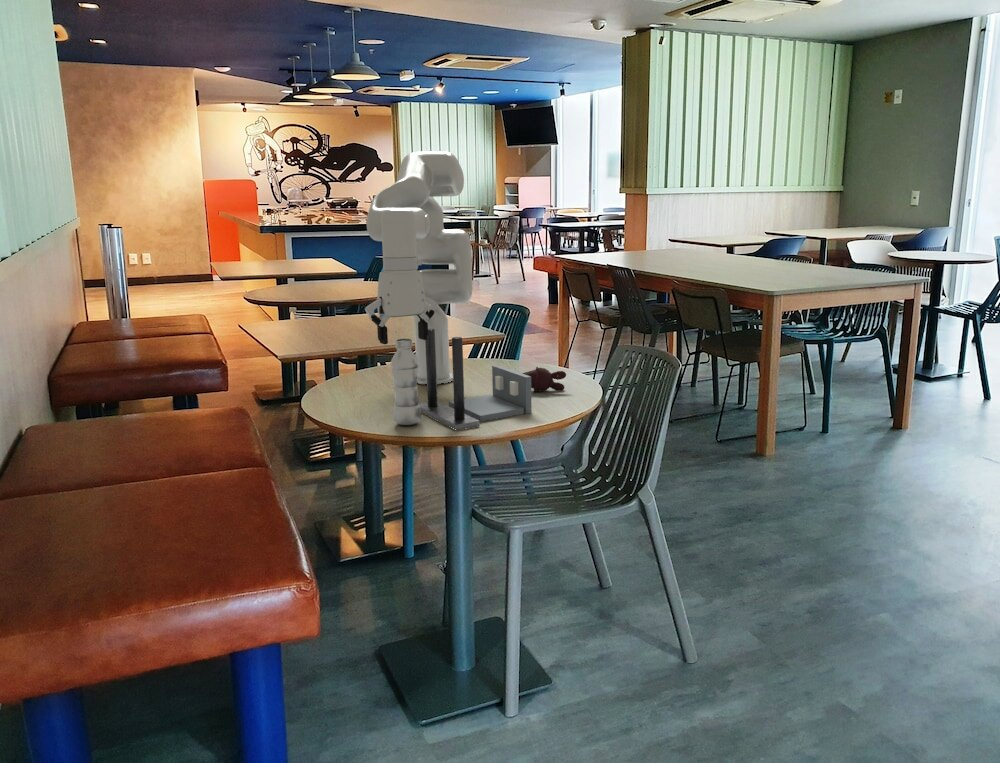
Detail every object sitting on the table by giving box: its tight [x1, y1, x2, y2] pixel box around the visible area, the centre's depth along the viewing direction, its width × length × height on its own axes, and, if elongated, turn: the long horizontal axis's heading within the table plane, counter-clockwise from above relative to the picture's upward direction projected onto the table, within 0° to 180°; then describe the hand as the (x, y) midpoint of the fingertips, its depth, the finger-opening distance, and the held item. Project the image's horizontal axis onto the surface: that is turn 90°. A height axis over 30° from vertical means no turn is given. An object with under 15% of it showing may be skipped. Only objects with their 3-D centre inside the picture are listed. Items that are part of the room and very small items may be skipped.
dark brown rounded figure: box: [521, 366, 567, 393], centre depth 214 cm, size 7×7×15 cm
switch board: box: [448, 364, 533, 423], centre depth 196 cm, size 16×14×9 cm
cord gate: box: [419, 329, 480, 431], centre depth 189 cm, size 22×6×20 cm, turn 31°
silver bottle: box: [390, 338, 422, 426], centre depth 184 cm, size 6×7×20 cm
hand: (403, 341), depth 181 cm, fingers open, 9 cm apart
